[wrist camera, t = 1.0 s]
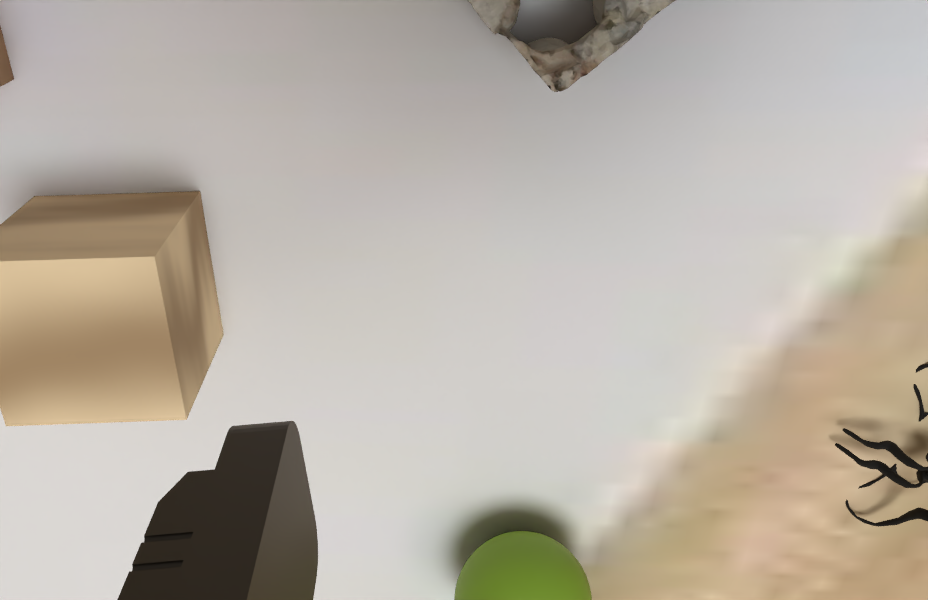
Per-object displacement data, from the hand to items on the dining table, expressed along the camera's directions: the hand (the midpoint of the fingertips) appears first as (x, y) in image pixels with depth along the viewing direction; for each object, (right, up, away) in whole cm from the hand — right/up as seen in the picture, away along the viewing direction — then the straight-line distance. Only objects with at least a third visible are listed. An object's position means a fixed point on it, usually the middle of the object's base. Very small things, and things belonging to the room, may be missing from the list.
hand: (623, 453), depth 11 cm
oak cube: (-14, +3, +20) cm, 24 cm away
